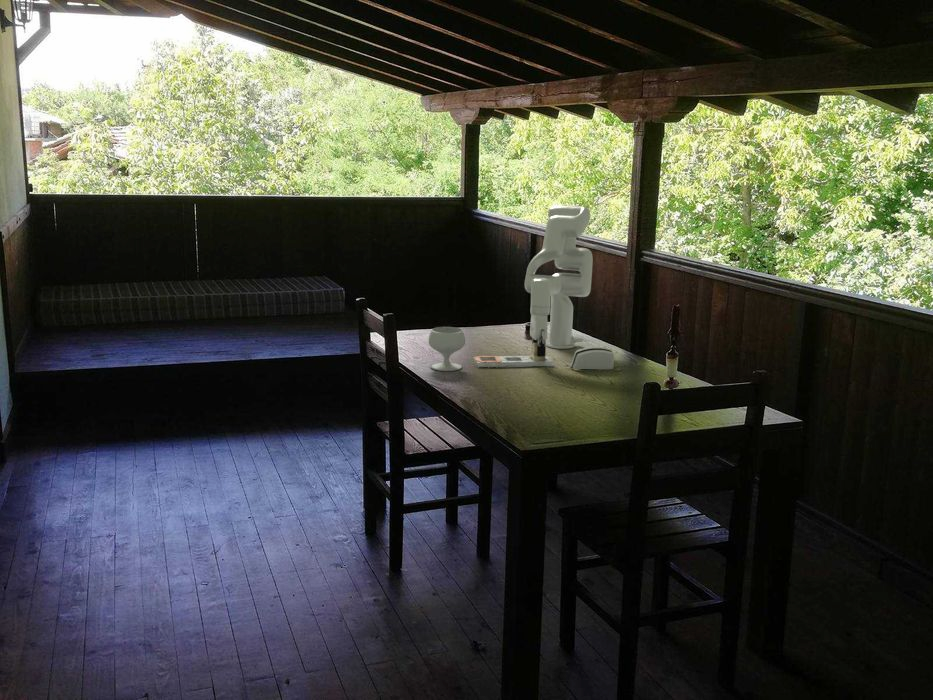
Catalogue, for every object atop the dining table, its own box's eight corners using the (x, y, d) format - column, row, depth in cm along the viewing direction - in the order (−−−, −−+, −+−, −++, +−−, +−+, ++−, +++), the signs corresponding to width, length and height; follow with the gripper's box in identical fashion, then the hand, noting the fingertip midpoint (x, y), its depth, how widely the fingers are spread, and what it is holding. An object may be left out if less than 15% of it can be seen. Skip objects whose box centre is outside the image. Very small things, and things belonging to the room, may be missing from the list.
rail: (547, 360, 352) (547, 354, 352) (553, 366, 342) (553, 360, 342) (473, 361, 347) (473, 356, 347) (477, 367, 338) (477, 362, 337)
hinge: (609, 365, 345) (613, 344, 340) (613, 372, 341) (617, 350, 336) (568, 367, 342) (572, 345, 336) (572, 374, 338) (576, 352, 332)
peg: (542, 362, 349) (543, 342, 347) (545, 364, 345) (545, 345, 343) (531, 362, 348) (531, 342, 347) (533, 365, 344) (534, 345, 342)
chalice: (457, 362, 346) (458, 325, 342) (469, 371, 333) (470, 332, 329) (423, 365, 341) (423, 327, 338) (434, 373, 328) (435, 334, 325)
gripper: (525, 306, 349) (524, 348, 353) (535, 314, 333) (534, 359, 337) (544, 306, 351) (542, 348, 355) (555, 314, 334) (553, 358, 338)
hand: (538, 353), depth 346 cm, fingers open, 8 cm apart
